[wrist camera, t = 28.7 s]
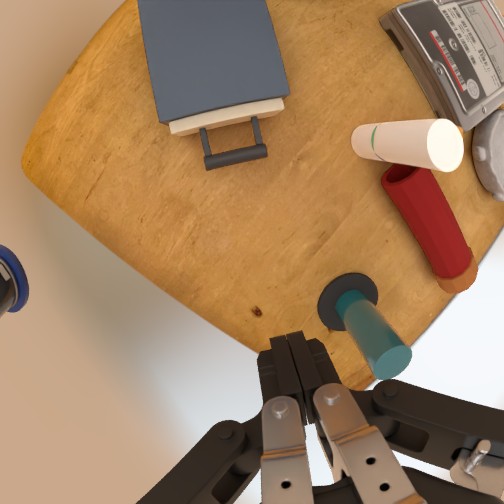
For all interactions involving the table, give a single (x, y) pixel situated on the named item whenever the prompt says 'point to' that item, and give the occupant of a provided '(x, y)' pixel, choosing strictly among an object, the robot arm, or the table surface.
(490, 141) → the dish
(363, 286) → the coaster
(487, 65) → the hard drive
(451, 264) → the shell casing
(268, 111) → the drawer
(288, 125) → the table surface
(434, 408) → the robot arm
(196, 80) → the cabinet
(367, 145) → the tube
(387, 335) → the canister
